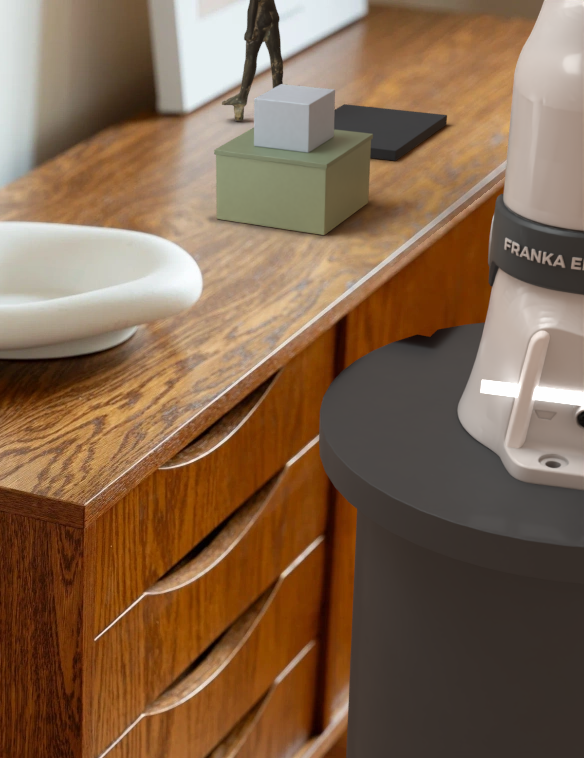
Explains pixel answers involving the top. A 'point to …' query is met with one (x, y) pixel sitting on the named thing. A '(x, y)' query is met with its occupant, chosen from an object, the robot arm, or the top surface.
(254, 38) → the statue
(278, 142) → the gray box
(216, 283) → the top surface
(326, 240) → the top surface
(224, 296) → the top surface
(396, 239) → the top surface
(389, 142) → the mat
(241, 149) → the storage box
